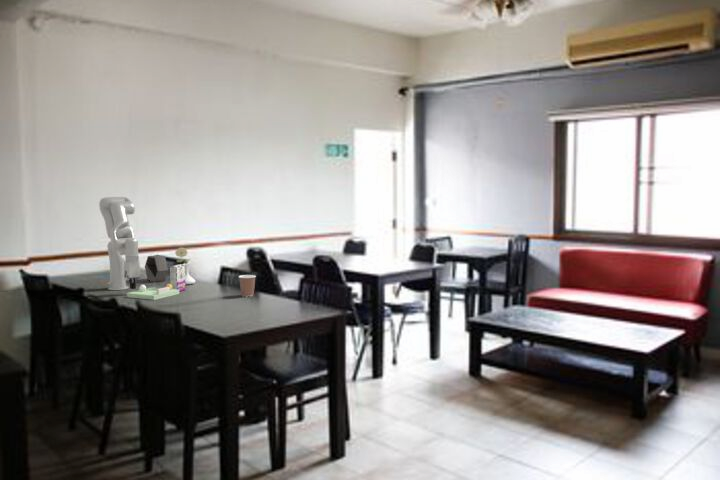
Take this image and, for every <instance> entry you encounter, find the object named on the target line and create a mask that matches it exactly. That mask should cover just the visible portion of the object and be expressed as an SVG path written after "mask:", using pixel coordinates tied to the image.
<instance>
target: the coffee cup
mask: <svg viewBox="0 0 720 480" xmlns="http://www.w3.org/2000/svg"><path fill="white" fill-rule="evenodd" d="M256 277H257V276H256V275H255V274H243V275H242V274H241V275H239V276H238V279H239V287H240V294H241V297H244V296H245V298H246V297H248V296H250V297H253V296H254V292H255V284H256ZM248 298H249V297H248Z"/></svg>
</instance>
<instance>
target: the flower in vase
mask: <svg viewBox="0 0 720 480" xmlns="http://www.w3.org/2000/svg"><path fill="white" fill-rule="evenodd" d="M174 253H175V255H176V256H177V257H179V259H177V260H176V263H182V262H183V263H182V265H185V284H186V285H192V284H195V283H196V280H195V278H193V277H192V276H191V275H190V274H189V267H190V265H191V263H189V261H190V259H191V258H188V259H186V260H185V261H184V259H183V258H184V257H186V256H187V255H188V253H189V252H188V250H187V248H185V247H178V248H177V249H176V250H175V252H174Z"/></svg>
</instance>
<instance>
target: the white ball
mask: <svg viewBox="0 0 720 480" xmlns="http://www.w3.org/2000/svg"><path fill="white" fill-rule="evenodd" d="M146 289H147V286H146V285H145V284H141V285H139V289H138V290H141V291H145V290H146Z"/></svg>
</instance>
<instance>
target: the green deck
mask: <svg viewBox="0 0 720 480" xmlns="http://www.w3.org/2000/svg"><path fill="white" fill-rule="evenodd" d="M175 295H180V292H179V290H176V289H172V290H170V287H166V286H165V287H148V288H146V290H145V291H141V290H140V289H138V290H134V291H130V292H127V293H126V298H131V299H141V300H142V299H143V300H154V301H155V300H159V299H162V298H168V297H172V296H175Z"/></svg>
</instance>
